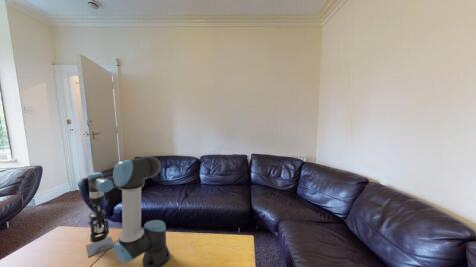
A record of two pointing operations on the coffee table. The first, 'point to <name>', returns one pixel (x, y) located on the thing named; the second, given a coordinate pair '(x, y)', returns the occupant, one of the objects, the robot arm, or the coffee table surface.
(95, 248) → the plate
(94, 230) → the black lantern
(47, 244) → the coffee table surface
